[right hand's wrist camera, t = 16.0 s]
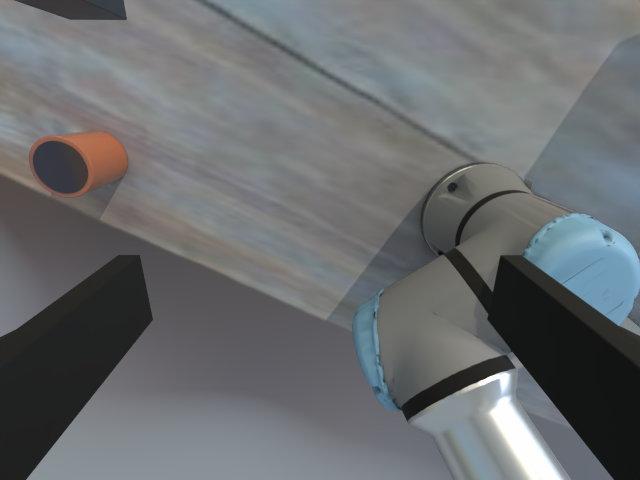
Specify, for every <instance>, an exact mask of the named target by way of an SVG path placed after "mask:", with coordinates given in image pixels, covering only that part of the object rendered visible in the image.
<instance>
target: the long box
mask: <svg viewBox="0 0 640 480" xmlns="http://www.w3.org/2000/svg"><path fill="white" fill-rule="evenodd" d="M15 1H18V2H21V3H24V4H27V5H29V6H32V7H35V8H38V9H41V10H44V11H47V12H50V13H53V14H56V15H58V16H61V17H64V18H67V19H70V20H127V17H126V12H125V6H124V0H15Z"/></svg>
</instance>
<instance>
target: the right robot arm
mask: <svg viewBox="0 0 640 480" xmlns="http://www.w3.org/2000/svg"><path fill="white" fill-rule="evenodd" d="M531 185H532V182H531V181H528V180H526V179H525V181H524V180H523V179H522V178H521V177H520V176H519V175H518V174H517V173H515V172H514V171H512V170H510V169H508V168H506V167H503V166H500V165H497V164H493V163H484V162H482V163H472V164H468V165H464V166H462V167H459V168H457V169H455V170H453V171H451V172H450V173H448V174H447V175H445V176H444V177H443V178H442V179H441V180H439V181H438V182H437V184H436V185H435V186H434V187H433V188H432V190H431V191H430V193H429V194H428V196H427V198H426V200H425V203H424V205H423V209H422V214H421V229H422V233H423V236H424V239H425V241H426V242H427V244H428V245H429V247H430V248H431V249H432V251H433V252H434V253H435V254H436V255H437V256H438V258H436V259H435V260H433V261H431V262H430V263H428V264H426V265H425V266H423V267H421V268H420V269H418V270H416V271H414V272H413V273H411V274H409V275H408V276H406V277H404V278H402V279H401V280H399V281H397V282H396V283H394V284H392V285H391V286H389V287H387V288H383V289H381V290H380V291H379V292H378V294H377V295H375V296H374V297H372V298H371V299H369V300H368V301H366V302H365V303H363V304H362V305H361V306H360V307H359V308H358V309H357V310H356V312H355V315H354V320H353V325H352V329H353V339H354V344H355V349H356V353H357V356H358V359H359V362H360V365H361V368H362V371H363V373H364V376H365V378H366V380H367V382H368V384H369V386H371V387H372V388H373V391H374V394H375V396H376V398H377V399H378V401H379V402H380V403H381V404H382V405H383V406H384V407H385V408H386V409H387V410H390V411H398V412H399V411H401V410H402V411H403V413H404V415H405V418H406V420H407V422H408V424H409V426H411V427H413V428H415V429H418V430H420V431H422V432H424V433H426V434H428V435H429V436H430V437H432V438H433V440H434V442H435V444H436V445H437V448H438V450H439V452H440V454H441V455H442V458H443V460H444V462H445V464H446V466H447V467H448V469H449V472H450V474H451V476H452V477H453V480H571V479H570V478H569V476H568V475H567V473H566V472H565V470H564V469H563V467H562V466H561V464H560V463H559V461H558V460H557V458H556V457H555V455H554V454H553V452H552V451H551V449H550V448H549V446H548V445H547V443H546V442H545V441H544V439H543V437H542V436H541V434H540V433H539V431H538V430H537V429H536V427H535V426H534V424H533V423H532V421H531V420H530V418H529V417H528V415H527V414H526V412H525V411H524V409H523V408H522V406H521V405H520V403H519V402H518V400H517V397H516V388H517V381H518V374H519V372H518V371H517V369H516V368H515V366H514V365H513V364H512V362H511V361H510V359H509V358H508V357H507V354H508V353H510V352H513V353H514V354H515V355H516V357H517V358H518V359H519V360H520V362H521V363H522V364H523V366H524V367H525V368H526V369H527V371H528V372H529V373H530V374H531V376H532V377H533V378H534V379H535V381H536V382H537V383H538V384H539V386H540V387H541V388H542V389H543V391H544V392H545V393H546V395H547V396H548V397H549V398H550V400H551V401H552V402H553V403H554V405H555V406H556V407H557V408H558V410H559V411H560V412H561V413H562V415H563V416H564V417H565V418H566V420H567V421H568V422H569V424H570V425H571V426H572V427H573V429H574V430H575V431H576V432H577V434H578V435H579V436H580V437H581V439H582V440H583V441H584V442H585V444H586V445H587V446H588V448H589V449H590V450H591V451H592V453H593V454H594V455H595V456H596V458H597V459H598V460H599V461H600V463H601V464H602V465H603V466H604V468H605V469H606V470H607V471H608V473H609V474H610V475H611V477H612V478H613V479H614V480H640V336H639V335H637V334H635V333H633V332H631V331H629V330H627V329H625V328H623V327H621V326H619V325H620V324H621V323H622V322H623V321H624V320H625V318H626V317H627V315H628V314H629V312H630V311H631V309H632V307H633V302H634V300H635V298H636V297H637V295H638V293H639V289H640V261H639V258H638V256H637V253H636V251H635V249H634V248H633V246H632V245H631V244H630V242H629V241H628V240H627V239H626V238H625V237H624V236H622V235H621V234H620V233H618V232H616V231H615V230H613V229H611V228H609V227H607V226H606V225H604V224H602V223H600V222H599V221H596V219H595V218H593V217H591V216H589V215H586V214H581V213H577V212H575V211H572V210H570V209H567V208H565V207H562V206H560V205H557V204H555V203H553V202H550V201H548V200H545V199H543V198H540V197H538V196H535V195H534V194H533V193H532V191H531ZM152 320H153V318H152V313H151V308H150V303H149V298H148V294H147V289H146V284H145V279H144V274H143V269H142V264H141V259H140V255H118V256H117V257H115V258H114V259H113V260H111V261H110V262H109V263H107V264H106V265H104V266H103V267H102V268H100V269H99V270H98V271H96V272H95V273H93V274H92V275H91V276H89V277H88V278H86V279H85V280H84V281H82V282H81V283H80V284H78V285H77V286H76V287H74V288H73V289H71V290H70V291H69V292H67V293H66V294H64V295H63V296H62V297H60V298H59V299H58V300H56V301H55V302H53V303H52V304H51V305H49V306H48V307H47V308H45V309H44V310H43V311H41V312H40V313H38V314H37V315H36V316H34V317H33V318H32V319H30V320H29V321H27V322H26V323H25V324H23V325H22V326H21V327H19V328H18V329H16V330H14V331H12V332H10V333H8V334H6V335H4V336H2V337H0V480H26V479H27V478H28V476H29V475H30V474H31V473H32V471H33V470H34V469H35V468H36V466H37V465H38V464H39V463H40V461H41V460H42V459H43V458H44V456H45V455H46V454H47V453H48V451H49V450H50V449H51V448H52V446H53V445H54V444H55V442H56V441H57V440H58V439H59V437H60V436H61V435H62V434H63V432H64V431H65V430H66V429H67V427H68V426H69V425H70V424H71V422H72V421H73V420H74V418H75V417H76V416H77V415H78V413H79V412H80V411H81V410H82V408H83V407H84V406H85V405H86V403H87V402H88V401H89V400H90V398H91V397H92V396H93V394H94V393H95V392H96V391H97V389H98V388H99V387H100V386H101V384H102V383H103V382H104V381H105V379H106V378H107V377H108V376H109V374H110V373H111V372H112V371H113V369H114V368H115V367H116V365H117V364H118V363H119V362H120V360H121V359H122V358H123V357H124V355H125V354H126V353H127V352H128V350H129V349H130V348H131V347H132V345H133V344H134V343H135V341H136V340H137V339H138V338H139V336H140V335H141V334H142V333H143V331H144V330H145V329H146V328H147V326H148V325H149V324H150V323H151V321H152Z"/></svg>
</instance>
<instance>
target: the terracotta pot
mask: <svg viewBox="0 0 640 480" xmlns="http://www.w3.org/2000/svg"><path fill="white" fill-rule="evenodd" d="M29 164H30V168H31V171H32V173H33V175H34V176H35V178H36V180H37V181H38V182H39V183H40V184H41V185H42V186H43V187H44V188H45V189H47V190H48V191H50V192H51V193H53V194H56V195H58V196H62V197H77V196H80V195H83V194H85V193H88V192H90V191H93V190H95V189H98V188H101V187H103V186H106V185H108V184H111V183H114V182H116V181H118V180H120V179H121V178H122V177H123V176H124V175H125V173H126V171H127V167H128V159H127V154H126V152H125V150H124V148H123V146H122V145H121V144H120V142H119V141H118V140H117V139H115V138H114V137H113V136H111V135H110V134H107V133H105V132H102V131H87V132H78V133H70V134H62V135H53V136H47V137H43V138H41V139H39V140H38V141H37V142H35V144H34V145H33V146H32V148H31V150H30V154H29Z"/></svg>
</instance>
